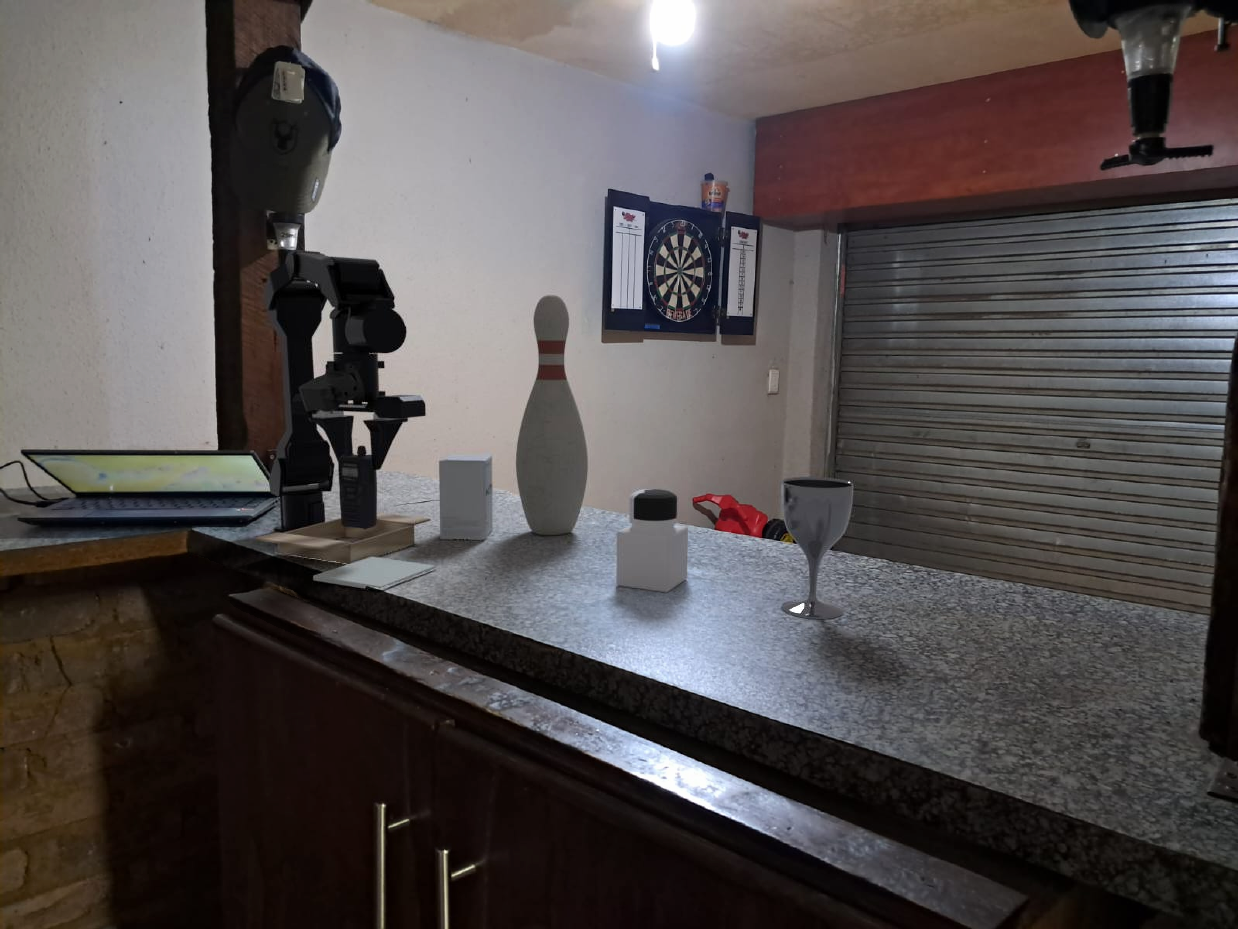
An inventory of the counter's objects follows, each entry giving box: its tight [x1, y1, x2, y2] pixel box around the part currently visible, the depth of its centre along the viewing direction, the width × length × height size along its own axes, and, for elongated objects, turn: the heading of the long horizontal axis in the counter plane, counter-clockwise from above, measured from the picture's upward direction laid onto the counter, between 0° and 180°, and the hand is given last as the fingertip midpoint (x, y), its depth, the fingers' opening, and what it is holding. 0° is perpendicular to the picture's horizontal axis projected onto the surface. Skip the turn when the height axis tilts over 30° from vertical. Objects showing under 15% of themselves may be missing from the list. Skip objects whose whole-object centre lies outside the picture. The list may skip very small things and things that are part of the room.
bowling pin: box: [515, 294, 589, 536], centre depth 134 cm, size 11×12×38 cm
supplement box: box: [438, 454, 494, 541], centre depth 133 cm, size 7×7×13 cm
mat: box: [312, 557, 437, 590], centre depth 111 cm, size 11×11×1 cm
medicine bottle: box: [615, 488, 689, 593], centre depth 107 cm, size 7×7×12 cm
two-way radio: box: [337, 418, 378, 529], centre depth 115 cm, size 6×4×15 cm
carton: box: [254, 512, 432, 564], centre depth 124 cm, size 14×22×3 cm, turn 155°
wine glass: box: [780, 476, 854, 620], centre depth 97 cm, size 8×8×15 cm
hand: (360, 468), depth 115 cm, fingers closed on two-way radio, 5 cm apart
